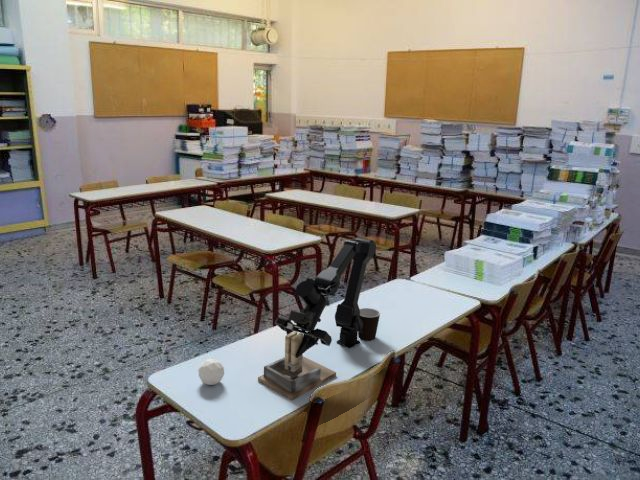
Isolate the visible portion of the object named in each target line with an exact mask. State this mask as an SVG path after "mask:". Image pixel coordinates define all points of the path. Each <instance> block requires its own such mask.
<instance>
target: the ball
mask: <svg viewBox="0 0 640 480" xmlns="http://www.w3.org/2000/svg"><path fill="white" fill-rule="evenodd" d="M224 368H225V367H224V366H223V364H222V363H221V361H220V360H217V359H215V358H208V359H206V360H205V361H202V363H201V364H200V366H199V368H198V370H197V371H198V377H199V379H200V381H201V383H203V384H205V385H207V386H215V385H217V384H218V383H220V382H221V381H222V379H223V378H224V375H225V369H224Z"/></svg>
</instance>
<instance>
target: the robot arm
mask: <svg viewBox="0 0 640 480" xmlns="http://www.w3.org/2000/svg"><path fill="white" fill-rule="evenodd" d="M376 250H377V243H375V240H373V239H369V238H364V237H360V236H356V237H355V238H352V239H351V238H348V239H346V240H345V241H344V242H343V246H342V247H341V249H340V250H339V251H338V253H337V255H336V256H335V258H334V259H333V260H332V262H331V264H330V265H329V267H327V268H326V269H323V270H322V271H321V272H320V273H318V275H316V277H315V278H314V279H313V278H312V277H306V280H304V281H301V282H300V283H298V284H297V285H296V287H295V293H296V295H297V296H298V298H300V300H301V301H302V302H303V303H304V304H305V306H304V308H303V307H302V308H301V309H300V310H299V311H296V310H292V309H290V312H289V315H288V318H286V317H284V316H280V315H279V316H278V317H277V318H276V320H275V322H274V324H276V326H277V327H279V328H280V330H282V331H284V332H285V333H286V335H288V334H290V333H292V332H293V331H296V332H297V333H302V334H303V341H302V343H301V345H300V347H299V349H298V351H297V353H296V356H295V357H296V358H298V357H299V356H301V355H302V354H303V355H304V353H305V352H307V351H308V350H309V349H311V348H312V347H314V346H315V345H316V346H318V345H319V340H320V343H321V345H324V346H328V347H330V346H331V344H332V341H333V338H332V336H331V335H330V334H329V332H327V331H326V330H323V329H320V328H318V327H317V328H316V326H317V324H318V323H321V321H322V319H321V316H322V314H323V312H324V310H325V308H326V306H328V307H329V306H330V301H329V297H327V296H334V295H335V294H336V293H337V292H338V290H339V287H340V285H341V277H342V275H343V274H344V272H345V270H346V269H347V267H348V266H349V264H351V262H352V266H351V269H350V275H349V277H348V283H347V287H346V290H345V295H344V300H343V301H342V302H341V303H338V304H337V305H336V310H335V314H334V319H335V326H336V327H339V328H340V332H339V339H337V340H336V343H337V344H338V345H341V346H343V347H346V348H348V349H352V348H354V347H355V346H357V345H359V344H361V341H360V340H358V331H361V329H362V328H363V321H362V320H361V319H360V317H359V316H360V309H361V308H360V307H359V303H358V302H359V299H360V295H361V291H362V286H363V281H364V277H365V274H366V273H365V272H366V269H367V264H368V263H369V262H371V260H372V259H373V258H374V254H375V252H376ZM325 295H326V296H325Z"/></svg>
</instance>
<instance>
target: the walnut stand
mask: <svg viewBox="0 0 640 480" xmlns="http://www.w3.org/2000/svg"><path fill="white" fill-rule="evenodd" d="M284 361H285V356H284V357H282V358H280V359H278V360H275V361H273V362H271V363H269V364H267V365H265V366H263V374H262V375H260V376H258V377H257V381H258V382H260V383H261V384H263V385H265V386H266V387H268V388H270V389H272V390H273V391H275V392H277V393H279V394H281V395H282V396H284V397H286V398H287V399H289V400H291V401H293V400H296V399H297V398H299V397H300V396H301V395H303V394H305V393H307V392H309V391H310V390H313V389H314V388H316V387H318V386H320V385H322V384H323V383H325V382H327V381H329V380H332V379H333V378H334V377H336V376H337V372H336V371H335V370H332V369H331V368H328V367H326V366H324V365H322V364H320V363H318V362H316V361H314V360H311V359H309V358H307V357H306V356H304V355H303V362H302V372H301V373H300V374H298V375H297V376H295V377H294V378H293V377H290V376H288V375H285V364H284Z"/></svg>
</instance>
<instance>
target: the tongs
mask: <svg viewBox="0 0 640 480" xmlns="http://www.w3.org/2000/svg"><path fill="white" fill-rule="evenodd" d="M303 335H304V334H303V333H300V332H296V331H293V332H292V333H290V334H288V335H287V334H286V335H285V338H284V341H285V342H284V357H285V361H284V364H285V375H288V376H290V377H293V378H294V377H295V376H297V375H298V374H300V373H301V372H302V362H303V356H304V353H303V354H302V355H301V356H299V357H298V358H296V357H295V356H296V353H297V351H298V349H299V347H300V345H301V343H302V341H303Z"/></svg>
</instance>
